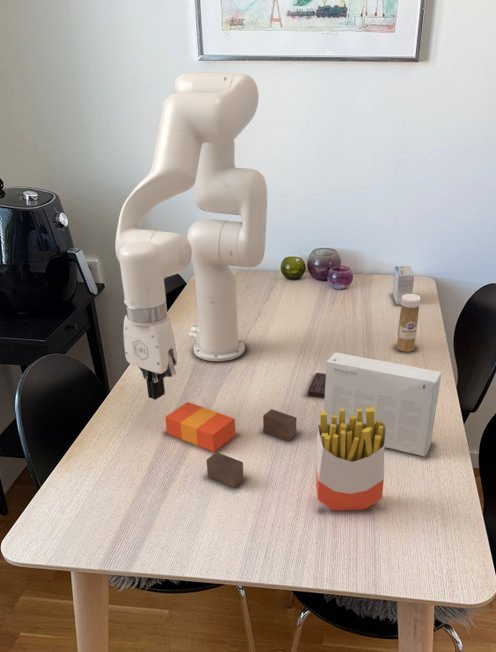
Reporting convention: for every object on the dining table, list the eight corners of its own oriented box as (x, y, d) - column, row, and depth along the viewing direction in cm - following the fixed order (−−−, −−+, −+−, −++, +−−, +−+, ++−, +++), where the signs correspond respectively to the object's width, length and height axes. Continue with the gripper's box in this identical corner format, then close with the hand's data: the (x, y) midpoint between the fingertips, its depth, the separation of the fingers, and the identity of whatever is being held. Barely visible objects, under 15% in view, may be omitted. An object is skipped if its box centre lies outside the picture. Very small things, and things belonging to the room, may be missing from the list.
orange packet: (166, 433, 134) (164, 416, 132) (189, 418, 139) (187, 401, 137) (213, 452, 129) (212, 434, 127) (235, 435, 134) (234, 418, 131)
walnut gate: (207, 477, 122) (206, 459, 120) (271, 425, 137) (271, 408, 134) (234, 488, 120) (233, 470, 117) (296, 434, 134) (296, 417, 132)
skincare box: (432, 443, 131) (443, 371, 122) (425, 457, 127) (436, 384, 118) (331, 419, 138) (334, 350, 129) (321, 433, 134) (324, 362, 125)
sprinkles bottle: (402, 353, 163) (408, 301, 155) (392, 346, 166) (397, 294, 159) (418, 350, 164) (424, 298, 157) (408, 343, 168) (414, 291, 160)
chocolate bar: (316, 372, 153) (395, 381, 149) (316, 376, 153) (394, 385, 150) (307, 391, 146) (390, 401, 142) (307, 395, 146) (390, 405, 142)
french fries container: (380, 510, 114) (390, 421, 104) (317, 512, 114) (320, 423, 104) (376, 494, 118) (385, 406, 108) (315, 495, 118) (318, 408, 107)
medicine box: (411, 305, 187) (414, 275, 183) (395, 305, 188) (398, 275, 183) (407, 294, 194) (410, 265, 189) (391, 294, 194) (394, 265, 189)
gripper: (103, 308, 126) (117, 393, 137) (163, 326, 119) (172, 414, 130) (131, 296, 131) (142, 379, 142) (190, 312, 125) (197, 398, 135)
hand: (156, 395), depth 136 cm, fingers closed
